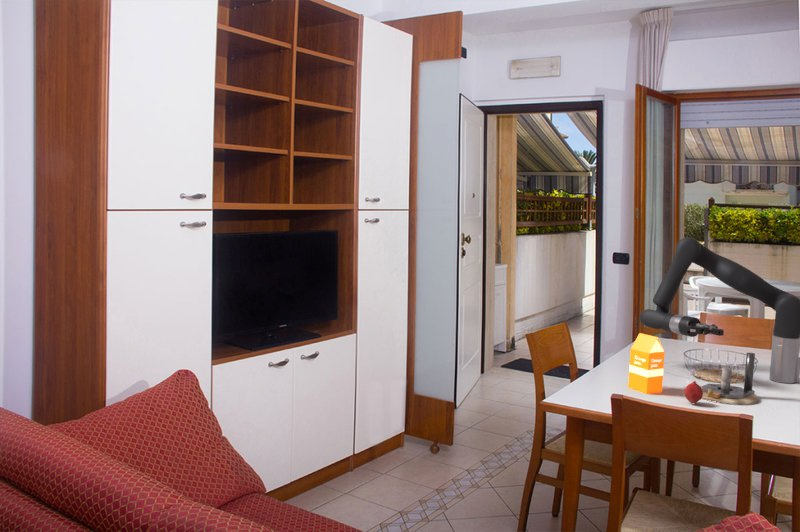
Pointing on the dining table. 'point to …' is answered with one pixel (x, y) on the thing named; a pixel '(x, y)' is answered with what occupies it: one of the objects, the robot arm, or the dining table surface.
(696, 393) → the onion
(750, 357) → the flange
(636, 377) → the orange juice
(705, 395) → the post stand
